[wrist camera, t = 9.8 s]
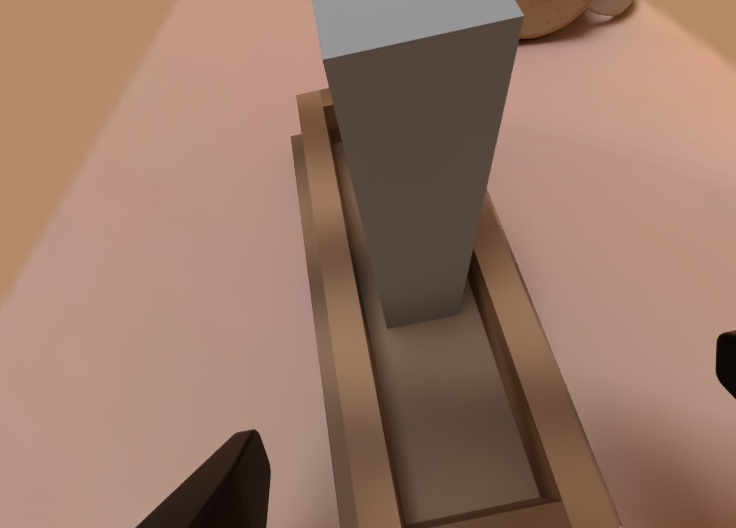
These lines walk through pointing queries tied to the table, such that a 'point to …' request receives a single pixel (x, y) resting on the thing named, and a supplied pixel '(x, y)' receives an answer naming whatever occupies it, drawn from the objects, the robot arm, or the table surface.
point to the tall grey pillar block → (419, 134)
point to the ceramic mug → (561, 13)
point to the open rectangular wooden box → (436, 378)
